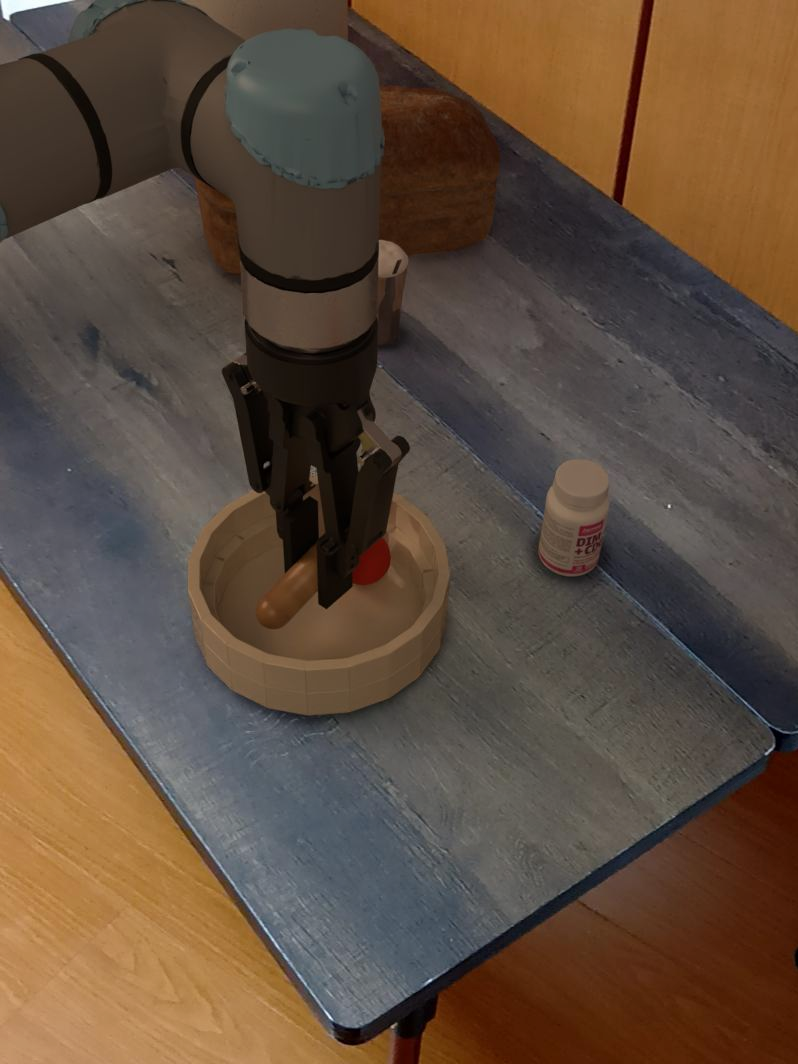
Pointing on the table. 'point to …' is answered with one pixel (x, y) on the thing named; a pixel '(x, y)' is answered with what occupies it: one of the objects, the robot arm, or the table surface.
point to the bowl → (316, 613)
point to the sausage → (289, 592)
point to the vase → (277, 15)
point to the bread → (407, 178)
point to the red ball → (373, 564)
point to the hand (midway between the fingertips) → (319, 584)
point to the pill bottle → (575, 518)
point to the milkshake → (390, 290)
